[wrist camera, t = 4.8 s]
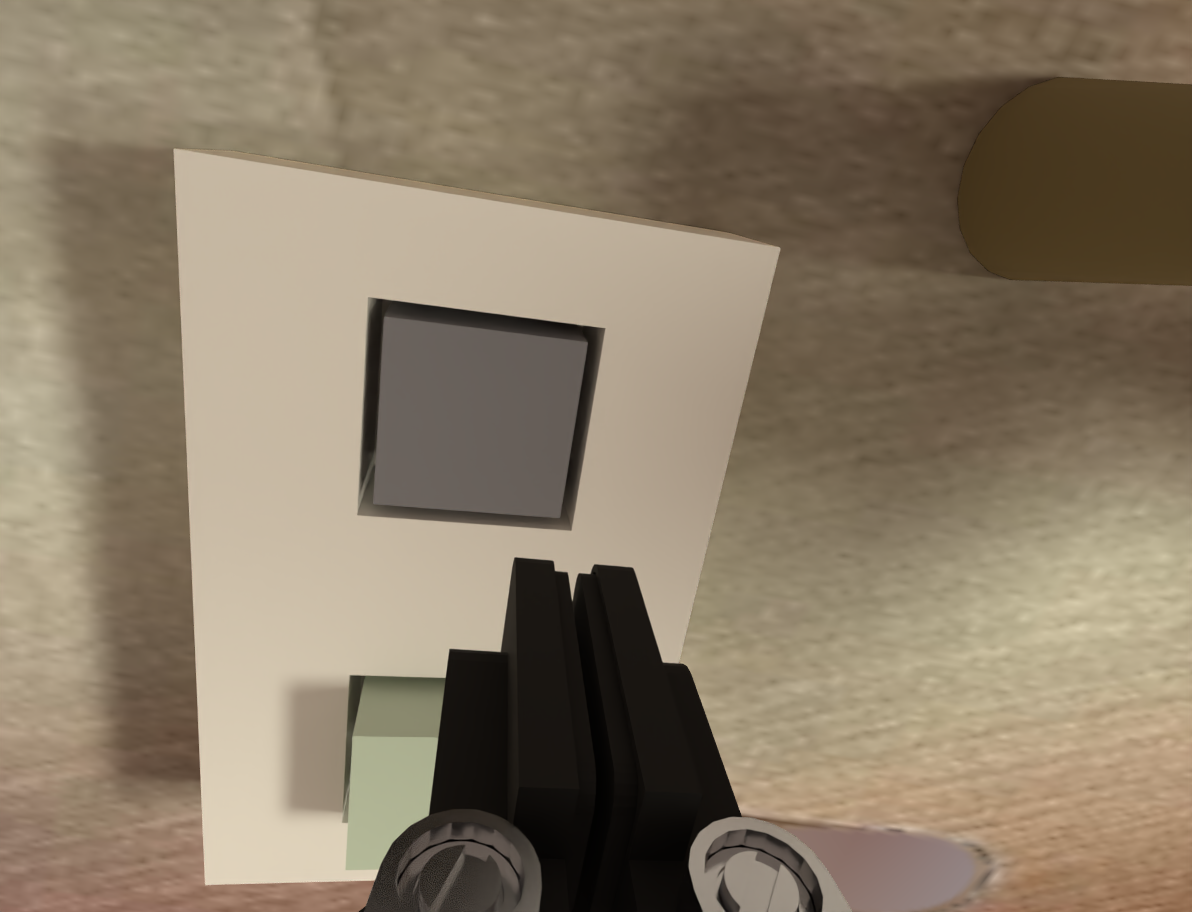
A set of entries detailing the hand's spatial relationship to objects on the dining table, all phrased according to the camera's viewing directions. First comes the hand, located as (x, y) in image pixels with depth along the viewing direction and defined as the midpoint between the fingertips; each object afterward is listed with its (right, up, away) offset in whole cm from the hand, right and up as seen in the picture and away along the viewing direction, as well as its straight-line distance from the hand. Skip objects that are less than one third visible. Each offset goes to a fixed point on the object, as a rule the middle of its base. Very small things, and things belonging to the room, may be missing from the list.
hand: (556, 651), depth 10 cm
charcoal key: (-3, +5, +11) cm, 13 cm away
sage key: (-4, -6, +13) cm, 15 cm away
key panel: (-4, 0, +14) cm, 15 cm away
